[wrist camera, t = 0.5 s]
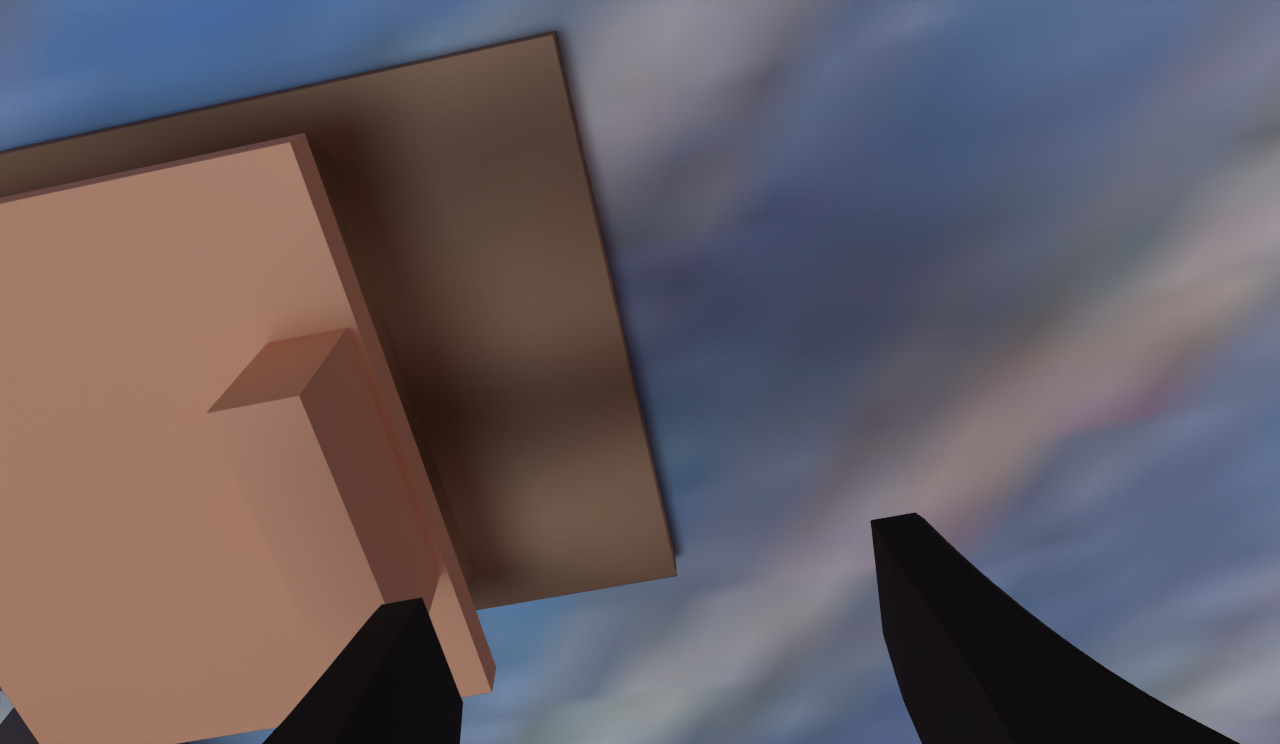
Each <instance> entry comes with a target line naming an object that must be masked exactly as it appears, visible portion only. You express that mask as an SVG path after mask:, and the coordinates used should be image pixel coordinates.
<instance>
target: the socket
mask: <svg viewBox="0 0 1280 744" xmlns="http://www.w3.org/2000/svg"><path fill="white" fill-rule="evenodd" d="M302 133H305V135H306V138H307V141H308V144H309V146H310V149H311V152H312V155H313V158H314V160H315V163H316V166H317V169H318V172H319V174H320V177H321V180H322V183H323V186H324V188H325V191H326V194H327V197H328V200H329V202H330V205H331V208H332V211H333V213H334V216H335V219H336V222H337V225H338V227H339V230H340V233H341V236H342V239H343V241H344V244H345V247H346V250H347V253H348V255H349V258H350V261H351V264H352V267H353V269H354V272H355V275H356V278H357V280H358V283H359V286H360V289H361V292H362V294H363V297H364V300H365V303H366V306H367V308H368V311H369V314H370V317H371V320H372V322H373V325H374V328H375V331H376V334H377V336H378V339H379V342H380V345H381V347H382V350H383V353H384V356H385V359H386V361H387V364H388V367H389V370H390V373H391V375H392V378H393V381H394V384H395V387H396V389H397V392H398V395H399V398H400V400H401V403H402V406H403V409H404V412H405V414H406V417H407V420H408V423H409V426H410V428H411V431H412V434H413V437H414V440H415V442H416V445H417V448H418V451H419V454H420V456H421V459H422V462H423V465H424V467H425V470H426V473H427V476H428V479H429V481H430V484H431V487H432V490H433V493H434V495H435V498H436V501H437V504H438V507H439V509H440V512H441V515H442V518H443V521H444V523H445V526H446V529H447V532H448V534H449V537H450V540H451V543H452V546H453V548H454V551H455V554H456V557H457V560H458V562H459V565H460V568H461V571H462V574H463V576H464V579H465V582H466V585H467V588H468V590H469V593H470V596H471V599H472V601H473V604H474V607H475V610H480V609H486V608H492V607H498V606H503V605H509V604H515V603H521V602H527V601H533V600H539V599H545V598H550V597H556V596H562V595H568V594H574V593H580V592H586V591H592V590H598V589H603V588H609V587H615V586H621V585H627V584H633V583H639V582H645V581H651V580H656V579H662V578H668V577H674V576H677V572H676V559H675V554H674V549H673V545H672V541H671V536H670V532H669V527H668V523H667V519H666V514H665V510H664V506H663V501H662V497H661V492H660V488H659V484H658V479H657V475H656V470H655V466H654V462H653V457H652V453H651V448H650V444H649V440H648V435H647V431H646V426H645V422H644V418H643V413H642V409H641V405H640V400H639V396H638V391H637V387H636V383H635V378H634V374H633V369H632V365H631V361H630V356H629V352H628V347H627V343H626V339H625V334H624V330H623V326H622V321H621V317H620V312H619V308H618V304H617V299H616V295H615V290H614V286H613V282H612V277H611V273H610V268H609V264H608V260H607V255H606V251H605V247H604V242H603V238H602V233H601V229H600V225H599V220H598V216H597V211H596V207H595V203H594V198H593V194H592V189H591V185H590V181H589V176H588V172H587V168H586V163H585V159H584V154H583V150H582V146H581V141H580V137H579V132H578V128H577V124H576V119H575V115H574V110H573V106H572V102H571V97H570V93H569V89H568V84H567V80H566V75H565V71H564V67H563V62H562V58H561V53H560V49H559V45H558V40H557V36H556V31H553V32H549V33H544V34H539V35H535V36H530V37H526V38H521V39H516V40H512V41H507V42H502V43H498V44H493V45H489V46H484V47H479V48H475V49H470V50H466V51H461V52H456V53H452V54H447V55H443V56H438V57H433V58H429V59H424V60H420V61H415V62H410V63H406V64H401V65H397V66H392V67H387V68H383V69H378V70H373V71H369V72H364V73H360V74H355V75H350V76H346V77H341V78H337V79H332V80H327V81H323V82H318V83H314V84H309V85H304V86H300V87H295V88H291V89H286V90H281V91H277V92H272V93H268V94H263V95H258V96H254V97H249V98H244V99H240V100H235V101H231V102H226V103H221V104H217V105H212V106H208V107H203V108H198V109H194V110H189V111H185V112H180V113H175V114H171V115H166V116H162V117H157V118H152V119H148V120H143V121H139V122H134V123H129V124H125V125H120V126H115V127H111V128H106V129H102V130H97V131H92V132H88V133H83V134H79V135H74V136H69V137H65V138H60V139H56V140H51V141H46V142H42V143H37V144H33V145H28V146H23V147H19V148H14V149H10V150H5V151H0V198H2V197H7V196H11V195H16V194H21V193H25V192H30V191H35V190H39V189H44V188H49V187H54V186H58V185H63V184H68V183H72V182H77V181H82V180H86V179H91V178H96V177H101V176H105V175H110V174H115V173H119V172H124V171H129V170H133V169H138V168H143V167H147V166H152V165H157V164H162V163H166V162H171V161H176V160H180V159H185V158H190V157H194V156H199V155H204V154H208V153H213V152H218V151H223V150H227V149H232V148H237V147H241V146H246V145H251V144H255V143H260V142H265V141H270V140H274V139H279V138H284V137H288V136H293V135H298V134H302ZM0 691H3V690H2V688H1V687H0Z"/></svg>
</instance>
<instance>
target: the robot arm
mask: <svg viewBox="0 0 1280 744" xmlns="http://www.w3.org/2000/svg"><path fill="white" fill-rule="evenodd" d="M871 528H872V537H873V546H874V555H875V564H876V574H877V583H878V592H879V601H880V610H881V619H882V629H883V635H884V639H885V642H886V645H887V649H888V652H889V655H890V658H891V662H892V665H893V668H894V672H895V675H896V678H897V681H898V684H899V688H900V691H901V694H902V697H903V700H904V703H905V705H906V708H907V710H908V712H909V715H910V717H911V719H912V722H913V724H914V726H915V728H916V731H917V733H918V735H919V738H920V740H921V742H922V744H1240V743H1238V742H1236V741H1234V740H1232V739H1230V738H1228V737H1226V736H1224V735H1222V734H1220V733H1218V732H1216V731H1215V730H1213V729H1211V728H1209V727H1207V726H1205V725H1203V724H1201V723H1199V722H1197V721H1196V720H1194V719H1192V718H1190V717H1188V716H1186V715H1184V714H1182V713H1180V712H1178V711H1176V710H1175V709H1173V708H1171V707H1169V706H1168V705H1166V704H1164V703H1162V702H1161V701H1159V700H1157V699H1155V698H1154V697H1152V696H1150V695H1148V694H1147V693H1145V692H1143V691H1142V690H1140V689H1138V688H1137V687H1135V686H1134V685H1132V684H1130V683H1129V682H1127V681H1126V680H1124V679H1122V678H1121V677H1119V676H1118V675H1116V674H1115V673H1113V672H1111V671H1110V670H1108V669H1107V668H1105V667H1104V666H1102V665H1101V664H1099V663H1098V662H1096V661H1095V660H1093V659H1092V658H1091V657H1089V656H1088V655H1086V654H1085V653H1083V652H1082V651H1080V650H1079V649H1078V648H1076V647H1075V646H1073V645H1072V644H1071V643H1069V642H1068V641H1067V640H1065V639H1064V638H1062V637H1061V636H1060V635H1058V634H1057V633H1056V632H1054V631H1053V630H1052V629H1050V628H1049V627H1048V626H1046V625H1045V624H1044V623H1042V622H1041V621H1040V620H1038V619H1037V618H1036V617H1035V616H1033V615H1032V614H1031V613H1029V612H1028V611H1027V610H1026V609H1024V608H1023V607H1022V606H1021V605H1020V604H1018V603H1017V602H1016V601H1015V600H1013V599H1012V598H1011V597H1010V596H1009V595H1007V594H1006V593H1005V592H1004V591H1003V590H1001V589H1000V588H999V587H998V586H996V585H995V584H994V583H993V582H992V581H991V580H989V579H988V578H987V577H986V576H985V575H984V574H982V573H981V572H980V571H979V570H978V569H977V568H976V567H975V566H973V565H972V564H971V563H970V562H969V561H968V560H967V559H966V558H965V557H964V556H962V555H961V554H960V553H959V552H958V551H957V550H956V549H955V548H954V547H953V546H952V545H951V544H950V543H948V542H947V541H946V540H945V539H944V538H943V537H942V536H941V535H940V534H939V533H938V532H937V531H936V530H935V529H934V528H933V527H932V526H931V525H930V524H929V523H928V522H927V521H926V520H925V519H924V518H922V517H921V516H920V515H918V514H917V513H910V514H904V515H899V516H893V517H887V518H881V519H875V520H871ZM462 707H463V701H462V699H461V696H460V693H459V691H458V688H457V686H456V683H455V681H454V678H453V675H452V673H451V670H450V668H449V665H448V663H447V660H446V657H445V655H444V652H443V650H442V647H441V644H440V642H439V639H438V637H437V634H436V632H435V629H434V626H433V624H432V621H431V619H430V616H429V614H428V611H427V608H426V606H425V603H424V601H423V598H416V599H410V600H404V601H398V602H392V603H387V604H381V605H380V607H379V608H378V609H377V610H376V611H375V612H374V613H373V614H372V615H371V617H370V618H369V619H368V620H367V621H366V622H365V624H364V625H363V626H362V627H361V628H360V630H359V631H358V632H357V633H356V635H355V636H354V637H353V638H352V639H351V641H350V642H349V643H348V644H347V645H346V647H345V648H344V649H343V650H342V652H341V653H340V654H339V655H338V656H337V658H336V659H335V660H334V661H333V663H332V664H331V665H330V666H329V667H328V669H327V670H326V671H325V672H324V673H323V675H322V676H321V677H320V678H319V679H318V681H317V682H316V683H315V684H314V685H313V686H312V688H311V689H310V690H309V691H308V692H307V694H306V695H305V696H304V697H303V698H302V700H301V701H300V702H299V703H298V704H297V705H296V707H295V708H294V709H293V710H292V711H291V713H290V714H289V715H288V716H287V717H286V718H285V719H284V720H283V721H282V723H281V724H280V725H279V726H278V727H277V728H276V729H275V730H274V731H273V732H272V734H271V735H270V736H269V737H268V738H267V739H266V740H265V741H264V742H263V743H262V744H460V734H461V721H462Z"/></svg>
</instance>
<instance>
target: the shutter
mask: <svg viewBox="0 0 1280 744" xmlns="http://www.w3.org/2000/svg"><path fill="white" fill-rule="evenodd" d="M416 598H423V601H424V603H425V606H426V608H427V611H428V614H429V616H430V619H431V621H432V624H433V626H434V629H435V632H436V634H437V637H438V639H439V642H440V644H441V647H442V650H443V652H444V655H445V657H446V660H447V663H448V665H449V668H450V670H451V673H452V675H453V678H454V681H455V683H456V686H457V688H458V691H459V693H460V696H461V697H467V696H473V695H479V694H485V693H491V692H492V688H493V682H494V677H495V671H496V666H495V663H494V660H493V657H492V655H491V652H490V649H489V646H488V643H487V641H486V638H485V635H484V632H483V629H482V627H481V624H480V621H479V618H478V615H477V613H476V610H475V607H474V604H473V601H472V599H471V596H470V593H469V590H468V588H467V585H466V582H465V579H464V576H463V574H462V571H461V568H460V565H459V562H458V560H457V557H456V554H455V551H454V548H453V546H452V543H451V540H450V537H449V534H448V532H447V529H446V526H445V523H444V521H443V518H442V515H441V512H440V509H439V507H438V504H437V501H436V498H435V495H434V493H433V490H432V487H431V484H430V481H429V479H428V476H427V473H426V470H425V467H424V465H423V462H422V459H421V456H420V454H419V451H418V448H417V445H416V442H415V440H414V437H413V434H412V431H411V428H410V426H409V423H408V420H407V417H406V414H405V412H404V409H403V406H402V403H401V400H400V398H399V395H398V392H397V389H396V387H395V384H394V381H393V378H392V375H391V373H390V370H389V367H388V364H387V361H386V359H385V356H384V353H383V350H382V347H381V345H380V342H379V339H378V336H377V334H376V331H375V328H374V325H373V322H372V320H371V317H370V314H369V311H368V308H367V306H366V303H365V300H364V297H363V294H362V292H361V289H360V286H359V283H358V280H357V278H356V275H355V272H354V269H353V267H352V264H351V261H350V258H349V255H348V253H347V250H346V247H345V244H344V241H343V239H342V236H341V233H340V230H339V227H338V225H337V222H336V219H335V216H334V213H333V211H332V208H331V205H330V202H329V200H328V197H327V194H326V191H325V188H324V186H323V183H322V180H321V177H320V174H319V172H318V169H317V166H316V163H315V160H314V158H313V155H312V152H311V149H310V146H309V144H308V141H307V138H306V135H305V133H302V134H298V135H293V136H288V137H284V138H279V139H274V140H270V141H265V142H260V143H255V144H251V145H246V146H241V147H237V148H232V149H227V150H223V151H218V152H213V153H208V154H204V155H199V156H194V157H190V158H185V159H180V160H176V161H171V162H166V163H162V164H157V165H152V166H147V167H143V168H138V169H133V170H129V171H124V172H119V173H115V174H110V175H105V176H101V177H96V178H91V179H86V180H82V181H77V182H72V183H68V184H63V185H58V186H54V187H49V188H44V189H39V190H35V191H30V192H25V193H21V194H16V195H11V196H7V197H2V198H0V687H1V688H2V690H3V691H4V693H5V694H6V696H7V697H8V699H9V700H10V702H11V703H12V704H13V706H14V707H15V709H16V710H17V712H18V713H19V715H20V716H21V718H22V719H23V721H24V722H25V723H26V725H27V726H28V728H29V729H30V731H31V732H32V734H33V735H34V737H35V738H36V740H37V741H38V743H39V744H178V743H184V742H190V741H196V740H202V739H209V738H215V737H221V736H227V735H233V734H239V733H245V732H252V731H258V730H264V729H270V728H276V727H278V726H279V725H280V724H281V723H282V721H283V720H284V719H285V718H286V717H287V716H288V715H289V714H290V713H291V711H292V710H293V709H294V708H295V707H296V705H297V704H298V703H299V702H300V701H301V700H302V698H303V697H304V696H305V695H306V694H307V692H308V691H309V690H310V689H311V688H312V686H313V685H314V684H315V683H316V682H317V681H318V679H319V678H320V677H321V676H322V675H323V673H324V672H325V671H326V670H327V669H328V667H329V666H330V665H331V664H332V663H333V661H334V660H335V659H336V658H337V656H338V655H339V654H340V653H341V652H342V650H343V649H344V648H345V647H346V645H347V644H348V643H349V642H350V641H351V639H352V638H353V637H354V636H355V635H356V633H357V632H358V631H359V630H360V628H361V627H362V626H363V625H364V624H365V622H366V621H367V620H368V619H369V618H370V617H371V615H372V614H373V613H374V612H375V611H376V610H377V609H378V608H379V607H380V605H381V604H387V603H392V602H398V601H404V600H410V599H416Z"/></svg>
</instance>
